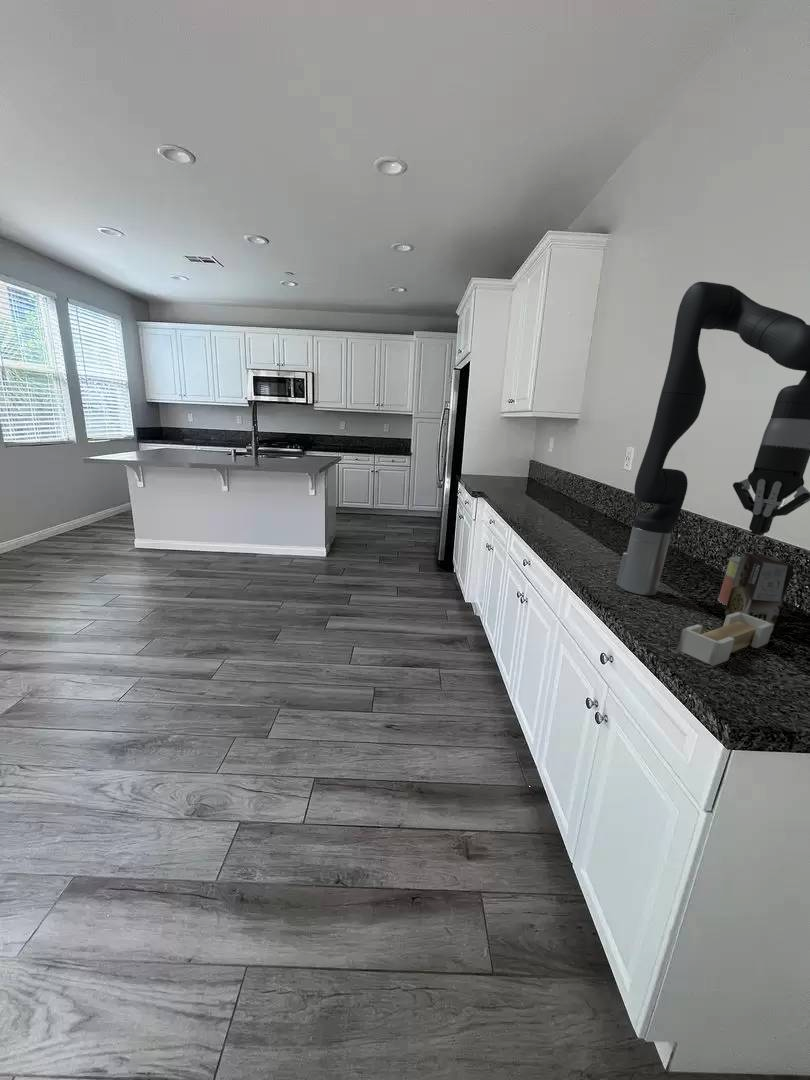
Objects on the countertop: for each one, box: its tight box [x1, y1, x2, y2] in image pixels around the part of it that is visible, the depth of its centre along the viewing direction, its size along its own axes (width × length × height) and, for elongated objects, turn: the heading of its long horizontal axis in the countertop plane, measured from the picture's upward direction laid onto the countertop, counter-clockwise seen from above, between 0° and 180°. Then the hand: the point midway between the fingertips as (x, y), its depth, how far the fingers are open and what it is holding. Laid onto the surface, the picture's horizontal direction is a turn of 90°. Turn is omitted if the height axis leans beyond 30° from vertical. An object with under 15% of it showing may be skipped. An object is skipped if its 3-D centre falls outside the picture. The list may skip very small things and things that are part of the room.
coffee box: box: [724, 552, 795, 634], centre depth 102 cm, size 9×6×16 cm
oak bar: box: [700, 621, 757, 654], centre depth 88 cm, size 3×18×4 cm, turn 121°
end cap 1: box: [676, 623, 735, 667], centre depth 84 cm, size 7×6×4 cm
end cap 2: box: [722, 612, 775, 649], centre depth 94 cm, size 7×6×4 cm
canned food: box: [717, 555, 741, 607], centre depth 114 cm, size 11×11×12 cm
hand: (757, 534), depth 86 cm, fingers closed
